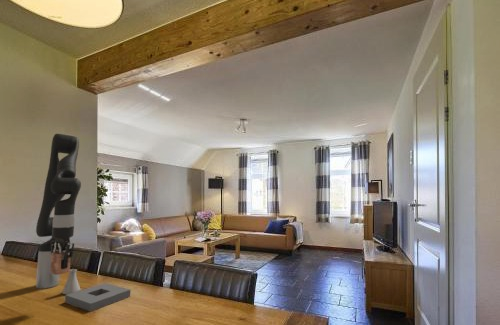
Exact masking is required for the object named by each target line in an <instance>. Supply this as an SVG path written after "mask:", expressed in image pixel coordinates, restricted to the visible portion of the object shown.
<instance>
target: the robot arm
mask: <svg viewBox="0 0 500 325" xmlns="http://www.w3.org/2000/svg"><path fill="white" fill-rule="evenodd" d="M51 140H52V141H51V149H50V155H49V156H50V157H49V164H48V170H47V174H46V179H45V183H44V190H43V198H42V203H41V208H40V211H39V215H38V218H37V222H36V225H35V226H36V228H35V233H36V235H37V237H39V238H44V237H51V238H50V239H48V240H47V241H45V242H42V243H41V244H40V245H39V246H38V254H37V267H36V268H37V269H36V278H35V279H36V280H35V288H36V289H38V290H40V289H50V288H54V287H57V286H58V285H59V284H60V274H58V275H55V274H52V273H50V269H51V255H52V253H55V252H60V254H62V255H61V258H62V260H61V269H66V268H67V267H68V259H69V258H71V259H72V257H73V253H74V248H75V243H71V240H70V239H71V238H72V237H73V236H74V230H75V208H76V207H75V206H76V200H77V198H78V195H79V192H80V190H81V188H82V182H81V181H80V179H79V178H76V172H77V168H76V164H77V160H78V155H79V148H80V140H79V138H78V136H74V135H68V134H63V133H55V134H54V135H53V137H52V139H51ZM59 153H60V154H67V155H66V156H64V157H62V158H61V159H59V157H60V156H59ZM65 195H69V196H68V198H65V199H64V197H65ZM52 211H54V212H53V216H51V214H52ZM64 253H65V255H64ZM69 253H70V254H69Z"/></svg>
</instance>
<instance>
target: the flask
mask: <svg viewBox="0 0 500 325" xmlns="http://www.w3.org/2000/svg"><path fill="white" fill-rule="evenodd" d="M77 271H78V269H76V268H72V269H70V272H68V277H67V281H66V282H65V285H64V287H63V289H62V290H61V294H62V295H67V294H71V293H74V292H77V291H80V290H82V288H81V287H80V284H79V281H78V277H77Z"/></svg>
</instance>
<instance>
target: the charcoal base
mask: <svg viewBox="0 0 500 325" xmlns="http://www.w3.org/2000/svg"><path fill="white" fill-rule="evenodd" d="M64 295H65V297H64V298H65V299H64V303H65V304H69V305H70V306H74V307H76V308H79V309H82V310H85V311H87V312H91V313H92V312H94V311H96V310H99V309H101V308H104V307H107V306H109V305H111V304H115V303H117V302H120V301H122V300H125V299H127V298H130V297H131V289H130V288H126V287H123V286H122V287H121V286H118V285H115V284H111V283H107V282H103V283H100V284H98V285H93V286H91V287H87V288H85V289H81V290H80V291H77V292H74V293H71V294H64Z"/></svg>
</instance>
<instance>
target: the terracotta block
mask: <svg viewBox="0 0 500 325" xmlns="http://www.w3.org/2000/svg"><path fill="white" fill-rule="evenodd" d="M69 254H70V253H69ZM61 255H62V254H60V252H55V253H52V255H51V269H50V273H52V274H55V275H58V274H59V275H62V274H66V273H69V272H70V270H71V260H72V257H71V258H69V259H68V267H67V268H66V269H61V260H62V258H61ZM64 255H65V253H64Z"/></svg>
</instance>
